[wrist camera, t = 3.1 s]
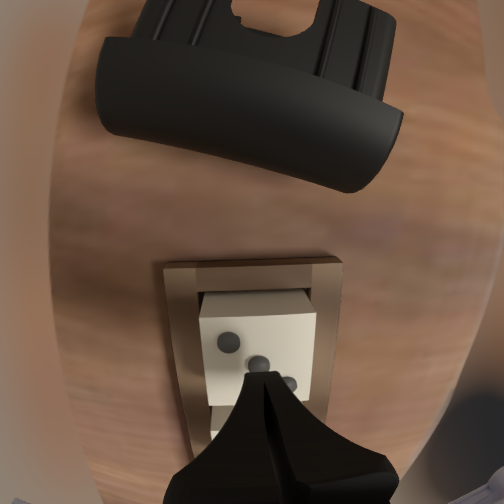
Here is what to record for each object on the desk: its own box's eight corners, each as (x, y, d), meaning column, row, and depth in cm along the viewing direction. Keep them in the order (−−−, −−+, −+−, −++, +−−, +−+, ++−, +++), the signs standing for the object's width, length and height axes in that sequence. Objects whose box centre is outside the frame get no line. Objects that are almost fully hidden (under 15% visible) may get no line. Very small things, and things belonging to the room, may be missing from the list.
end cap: (135, 141, 15) (72, 124, 8) (176, 20, 13) (147, -51, 6) (326, 189, 16) (385, 203, 9) (357, 67, 14) (421, 20, 8)
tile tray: (308, 484, 21) (310, 494, 20) (205, 489, 21) (205, 500, 20) (336, 256, 16) (343, 262, 15) (167, 261, 16) (162, 268, 15)
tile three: (298, 367, 17) (309, 402, 14) (212, 372, 17) (208, 408, 14) (302, 288, 16) (317, 314, 13) (205, 292, 16) (198, 319, 13)
